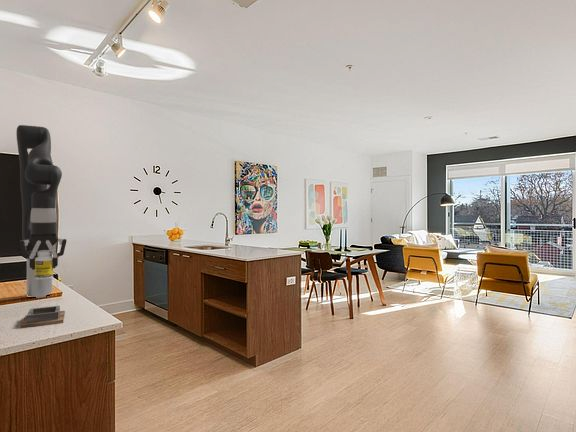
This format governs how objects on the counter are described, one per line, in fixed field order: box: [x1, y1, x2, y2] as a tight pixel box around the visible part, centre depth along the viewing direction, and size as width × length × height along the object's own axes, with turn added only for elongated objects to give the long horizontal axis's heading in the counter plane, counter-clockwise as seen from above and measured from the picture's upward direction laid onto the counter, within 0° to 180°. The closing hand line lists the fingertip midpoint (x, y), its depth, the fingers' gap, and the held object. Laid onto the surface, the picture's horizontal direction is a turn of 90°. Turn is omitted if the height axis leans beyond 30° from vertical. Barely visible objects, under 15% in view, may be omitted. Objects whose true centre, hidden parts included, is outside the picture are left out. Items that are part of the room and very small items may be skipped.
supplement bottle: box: [35, 250, 54, 279], centre depth 123 cm, size 5×5×10 cm
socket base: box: [19, 305, 66, 329], centre depth 124 cm, size 12×12×4 cm
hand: (43, 268), depth 123 cm, fingers closed on supplement bottle, 5 cm apart
